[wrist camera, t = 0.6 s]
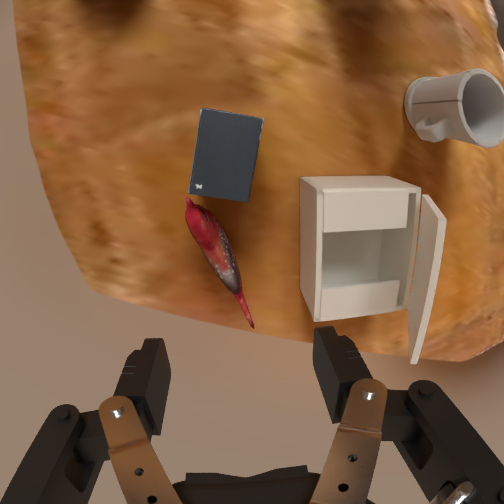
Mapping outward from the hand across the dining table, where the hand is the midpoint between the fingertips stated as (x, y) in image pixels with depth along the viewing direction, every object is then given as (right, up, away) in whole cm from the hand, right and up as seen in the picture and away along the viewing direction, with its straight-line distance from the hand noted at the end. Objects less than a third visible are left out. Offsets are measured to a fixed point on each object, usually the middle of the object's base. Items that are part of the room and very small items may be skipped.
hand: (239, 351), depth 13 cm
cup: (+24, +23, +23) cm, 40 cm away
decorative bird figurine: (-3, +5, +28) cm, 29 cm away
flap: (+19, +4, +20) cm, 28 cm away
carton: (+13, +7, +28) cm, 31 cm away
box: (-3, +16, +24) cm, 29 cm away
